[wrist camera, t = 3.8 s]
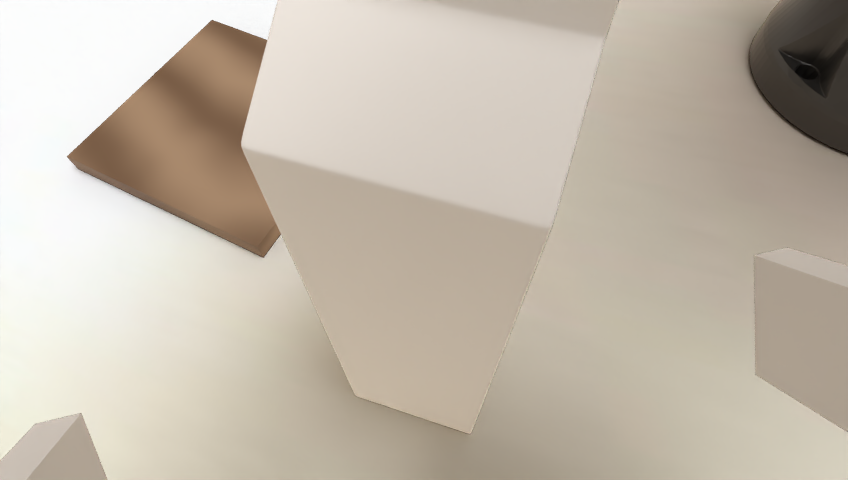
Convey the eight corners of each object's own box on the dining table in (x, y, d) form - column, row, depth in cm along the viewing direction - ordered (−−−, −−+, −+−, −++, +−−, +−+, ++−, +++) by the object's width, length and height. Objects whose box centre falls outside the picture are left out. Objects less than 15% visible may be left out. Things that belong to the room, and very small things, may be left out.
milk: (394, 291, 29) (334, -201, 10) (503, 323, 28) (659, -156, 9) (353, 399, 26) (159, -12, 7) (472, 439, 25) (611, 85, 6)
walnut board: (217, 33, 40) (211, 19, 39) (383, 95, 36) (381, 82, 35) (78, 168, 33) (66, 156, 32) (263, 257, 30) (257, 247, 29)
